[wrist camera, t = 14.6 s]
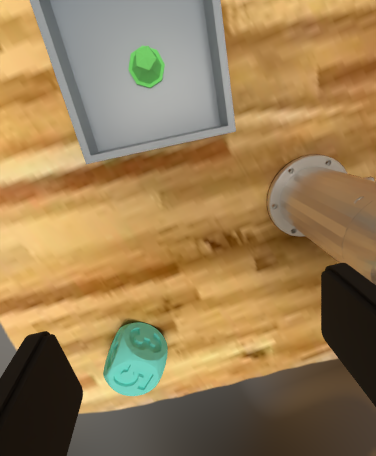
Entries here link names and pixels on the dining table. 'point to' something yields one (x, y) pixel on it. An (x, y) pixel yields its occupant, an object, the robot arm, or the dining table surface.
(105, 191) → the dining table surface
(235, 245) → the dining table surface
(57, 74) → the bin
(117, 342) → the decorative dice
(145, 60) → the game piece
